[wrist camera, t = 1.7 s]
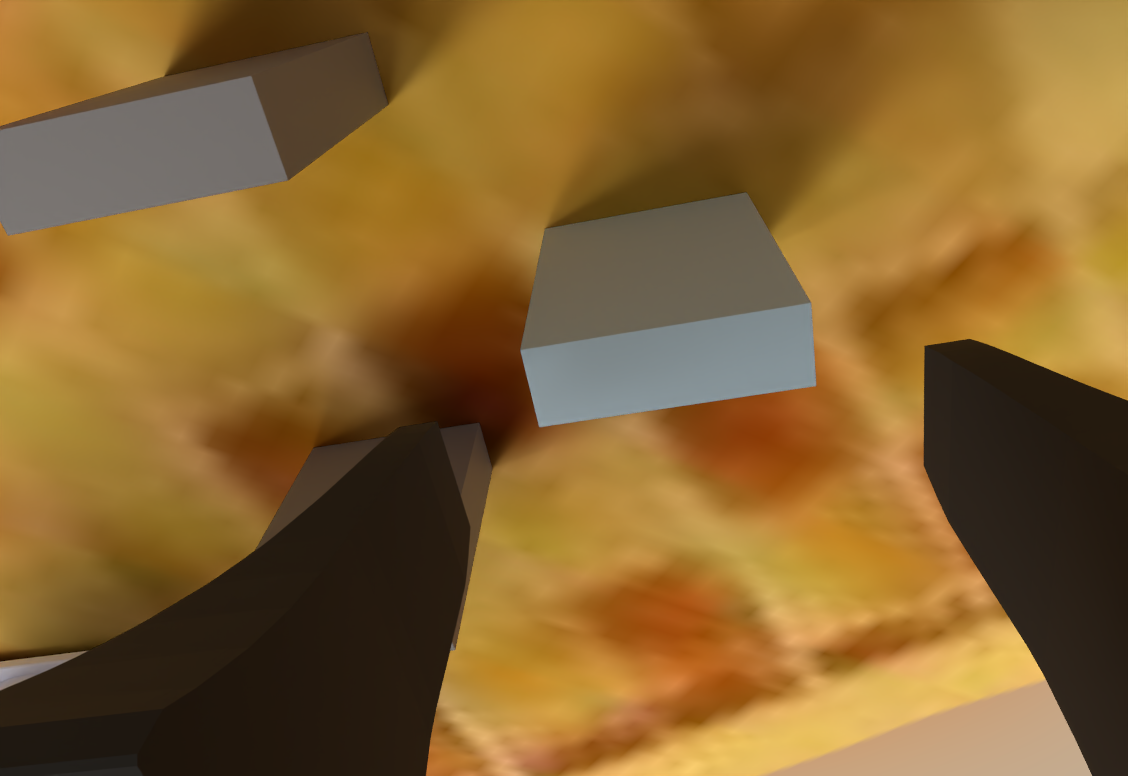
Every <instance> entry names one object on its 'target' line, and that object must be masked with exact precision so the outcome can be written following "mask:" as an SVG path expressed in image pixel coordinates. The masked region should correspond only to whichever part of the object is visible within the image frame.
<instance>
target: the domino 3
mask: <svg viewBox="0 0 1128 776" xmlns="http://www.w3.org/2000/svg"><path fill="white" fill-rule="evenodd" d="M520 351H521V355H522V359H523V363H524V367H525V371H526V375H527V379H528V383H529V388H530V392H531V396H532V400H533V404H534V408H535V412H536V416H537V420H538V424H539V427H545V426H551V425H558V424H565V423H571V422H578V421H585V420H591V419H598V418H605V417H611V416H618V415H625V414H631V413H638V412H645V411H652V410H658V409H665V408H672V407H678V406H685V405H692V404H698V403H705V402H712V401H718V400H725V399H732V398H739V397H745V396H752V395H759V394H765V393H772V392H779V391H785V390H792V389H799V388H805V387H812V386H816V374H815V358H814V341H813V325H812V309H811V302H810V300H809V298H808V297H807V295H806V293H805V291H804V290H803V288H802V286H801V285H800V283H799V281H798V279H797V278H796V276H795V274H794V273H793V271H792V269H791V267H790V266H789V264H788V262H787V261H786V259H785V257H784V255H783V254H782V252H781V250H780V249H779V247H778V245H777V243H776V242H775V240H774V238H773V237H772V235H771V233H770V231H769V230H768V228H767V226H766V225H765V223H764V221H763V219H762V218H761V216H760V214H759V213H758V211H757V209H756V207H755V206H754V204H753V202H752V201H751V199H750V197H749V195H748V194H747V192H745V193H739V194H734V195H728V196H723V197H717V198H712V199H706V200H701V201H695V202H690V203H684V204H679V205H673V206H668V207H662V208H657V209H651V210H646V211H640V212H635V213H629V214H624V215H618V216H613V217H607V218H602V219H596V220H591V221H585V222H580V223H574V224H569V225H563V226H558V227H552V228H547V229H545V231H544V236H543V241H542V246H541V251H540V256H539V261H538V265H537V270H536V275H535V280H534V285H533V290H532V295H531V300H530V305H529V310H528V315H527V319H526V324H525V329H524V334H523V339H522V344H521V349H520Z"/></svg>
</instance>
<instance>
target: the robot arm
mask: <svg viewBox="0 0 1128 776" xmlns="http://www.w3.org/2000/svg"><path fill="white" fill-rule="evenodd" d="M924 467H925V469H926V472H927V474H928V477H929V479H930V481H931V484H932V486H933V488H934V491H935V493H936V495H937V498H938V500H939V502H940V504H941V506H942V509H943V511H944V513H945V515H946V517H947V519H948V521H949V523H950V525H951V526H952V528H953V530H954V531H955V533H956V535H957V536H958V538H959V539H960V541H961V543H962V544H963V546H964V547H965V549H966V551H967V552H968V554H969V555H970V557H971V559H972V560H973V562H974V563H975V565H976V567H977V568H978V570H979V571H980V573H981V574H982V576H983V577H984V579H985V581H986V582H987V584H988V585H989V587H990V588H991V590H992V592H993V593H994V595H995V596H996V598H997V599H998V601H999V603H1000V604H1001V606H1002V607H1003V609H1004V610H1005V612H1006V613H1007V615H1008V617H1009V618H1010V620H1011V621H1012V623H1013V624H1014V626H1015V628H1016V629H1017V631H1018V632H1019V634H1020V635H1021V637H1022V639H1023V640H1024V642H1025V643H1026V645H1027V647H1028V648H1029V650H1030V652H1031V653H1032V655H1033V657H1034V659H1035V660H1036V662H1037V664H1038V666H1039V667H1040V669H1041V671H1042V673H1043V674H1044V676H1045V678H1046V680H1047V682H1048V684H1049V687H1050V688H1051V691H1052V693H1053V695H1054V697H1055V699H1056V701H1057V703H1058V705H1059V707H1060V709H1061V711H1062V713H1063V715H1064V717H1065V719H1066V721H1067V723H1068V725H1069V727H1070V729H1071V731H1072V733H1073V735H1074V737H1075V739H1076V741H1077V744H1078V746H1079V748H1080V750H1081V752H1082V755H1083V757H1084V759H1085V761H1086V763H1087V765H1088V768H1089V770H1090V772H1091V774H1092V776H1128V401H1127V400H1125V399H1122V398H1119V397H1117V396H1114V395H1111V394H1109V393H1106V392H1103V391H1101V390H1098V389H1096V388H1093V387H1091V386H1088V385H1085V384H1083V383H1080V382H1078V381H1076V380H1073V379H1071V378H1068V377H1066V376H1063V375H1061V374H1058V373H1056V372H1054V371H1051V370H1049V369H1046V368H1044V367H1042V366H1039V365H1037V364H1034V363H1032V362H1030V361H1027V360H1025V359H1022V358H1020V357H1018V356H1015V355H1013V354H1010V353H1008V352H1005V351H1003V350H1000V349H998V348H995V347H993V346H990V345H987V344H984V343H981V342H978V341H975V340H971V339H966V340H960V341H954V342H947V343H941V344H934V345H928V346H925V363H924ZM470 529H471V527H470V523H469V520H468V517H467V514H466V511H465V508H464V504H463V501H462V498H461V495H460V492H459V489H458V485H457V482H456V479H455V476H454V473H453V469H452V466H451V463H450V460H449V457H448V454H447V450H446V447H445V444H444V441H443V438H442V435H441V431H440V428H439V425H438V422H437V421H436V422H429V423H423V424H416V425H410V426H403V427H399V428H398V429H396V430H395V431H394V432H392V433H391V434H390V435H388V436H387V437H386V438H385V439H384V440H383V441H381V442H380V443H379V444H378V445H377V446H376V447H375V448H374V449H372V450H371V451H370V452H369V453H368V454H367V455H366V456H365V457H364V458H363V459H362V460H360V461H359V462H358V463H357V464H356V465H355V466H354V467H353V468H352V469H351V470H350V471H349V472H347V473H346V474H345V475H344V476H343V477H342V478H341V479H340V480H339V481H338V482H337V483H335V484H334V485H333V486H332V487H331V488H330V489H329V490H328V491H327V492H326V493H325V494H323V495H322V496H321V497H320V498H319V499H318V500H317V501H315V502H314V503H313V504H312V505H311V506H309V507H308V508H307V509H306V510H305V511H304V512H302V513H301V514H300V515H299V516H298V517H296V518H295V519H294V520H293V521H292V522H290V523H289V524H288V525H287V526H286V527H284V528H283V529H282V530H281V531H280V532H279V533H277V534H276V535H275V536H274V537H272V538H271V539H270V540H269V541H267V542H266V543H265V544H263V545H262V546H261V547H259V548H258V549H257V550H255V551H254V552H253V553H251V554H250V555H249V556H247V557H246V558H245V559H243V560H242V561H240V562H239V563H237V564H236V565H234V566H233V567H232V568H230V569H229V570H227V571H226V572H224V573H223V574H222V575H220V576H219V577H217V578H216V579H214V580H213V581H211V582H210V583H208V584H207V585H205V586H203V587H202V588H200V589H198V590H197V591H195V592H193V593H192V594H190V595H188V596H187V597H185V598H183V599H182V600H180V601H178V602H177V603H175V604H173V605H172V606H170V607H168V608H167V609H165V610H163V611H162V612H160V613H158V614H157V615H155V616H153V617H152V618H150V619H148V620H147V621H145V622H143V623H141V624H139V625H138V626H136V627H134V628H132V629H130V630H128V631H126V632H124V633H123V634H121V635H119V636H117V637H115V638H113V639H111V640H109V641H107V642H105V643H103V644H101V645H99V646H97V647H95V648H93V649H91V650H89V651H81V652H73V653H65V654H57V655H49V656H41V657H33V658H25V659H17V660H9V661H1V662H0V776H426V770H427V762H428V754H429V746H430V738H431V733H432V727H433V722H434V717H435V712H436V707H437V703H438V699H439V695H440V690H441V686H442V682H443V678H444V674H445V670H446V666H447V661H448V657H449V653H450V649H451V645H452V641H453V637H454V632H455V628H456V624H457V620H458V615H459V611H460V607H461V602H462V598H463V594H464V589H465V584H466V576H467V567H468V557H469V543H470Z"/></svg>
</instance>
